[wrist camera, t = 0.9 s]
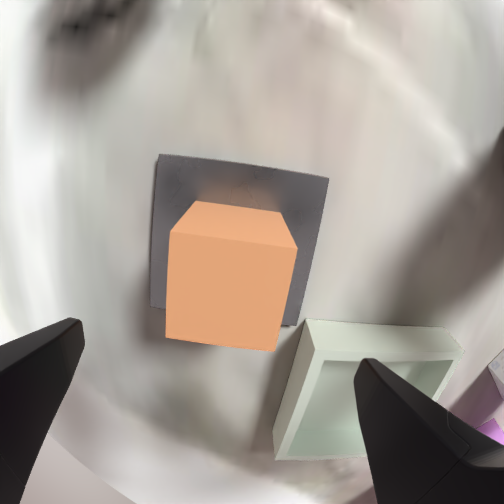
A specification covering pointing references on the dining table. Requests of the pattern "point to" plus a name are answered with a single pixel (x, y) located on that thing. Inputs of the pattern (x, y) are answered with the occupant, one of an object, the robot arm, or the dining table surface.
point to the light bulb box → (498, 372)
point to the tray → (341, 382)
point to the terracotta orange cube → (228, 276)
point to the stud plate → (243, 195)
